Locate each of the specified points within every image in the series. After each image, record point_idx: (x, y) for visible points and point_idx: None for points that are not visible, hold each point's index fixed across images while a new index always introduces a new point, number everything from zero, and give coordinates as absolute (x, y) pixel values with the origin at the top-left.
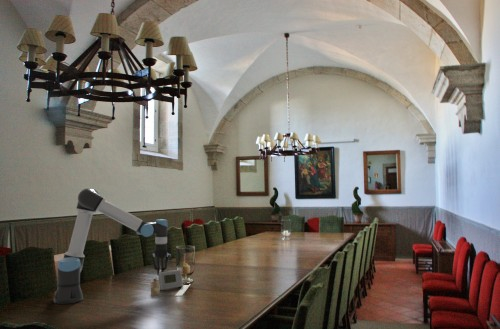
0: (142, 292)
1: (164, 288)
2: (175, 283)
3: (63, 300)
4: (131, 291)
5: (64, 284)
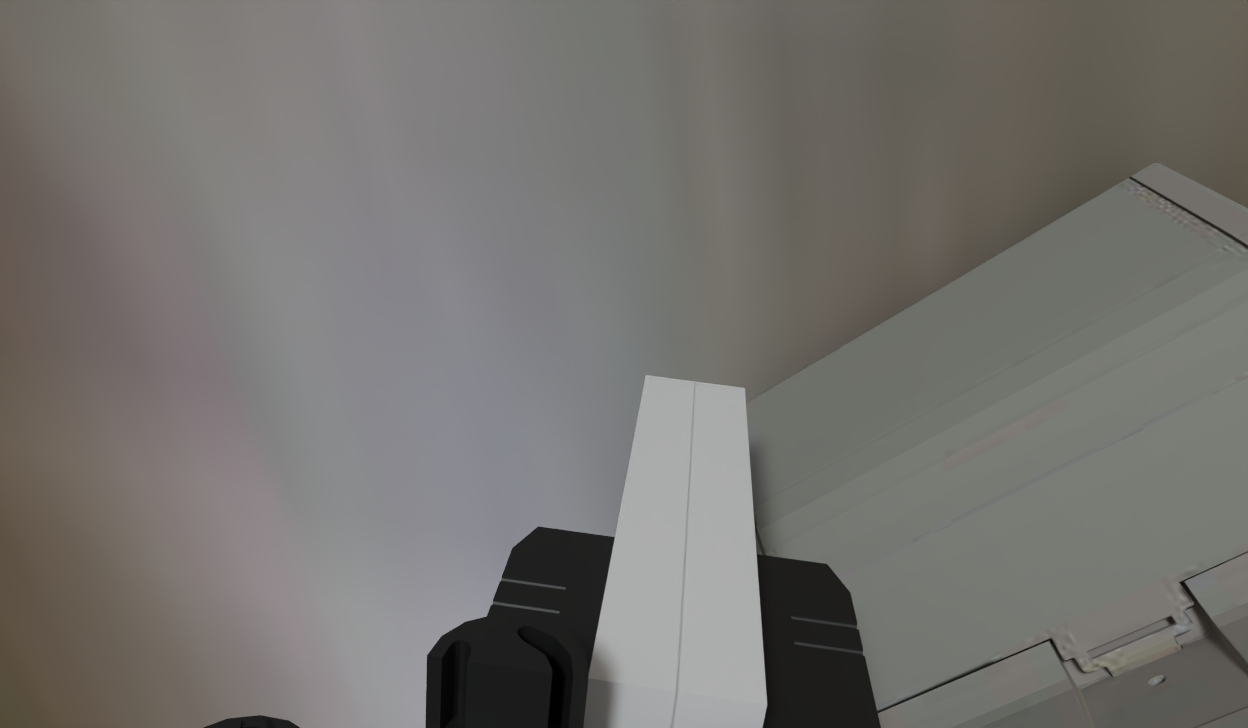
0: (320, 717)
1: None
2: None
3: None
4: (18, 575)
5: None
